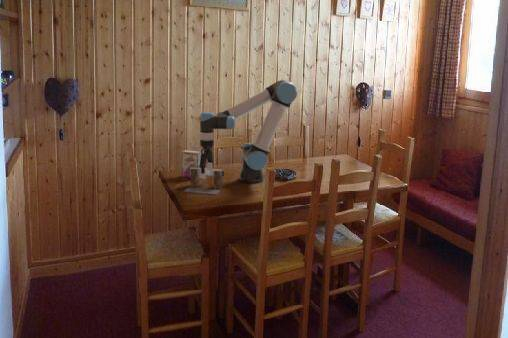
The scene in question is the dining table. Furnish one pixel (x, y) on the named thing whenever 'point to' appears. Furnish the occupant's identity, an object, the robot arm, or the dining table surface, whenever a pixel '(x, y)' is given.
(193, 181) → the post
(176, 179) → the dining table surface
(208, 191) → the mat
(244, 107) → the robot arm
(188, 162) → the candy bar box
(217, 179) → the post
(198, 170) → the rail
